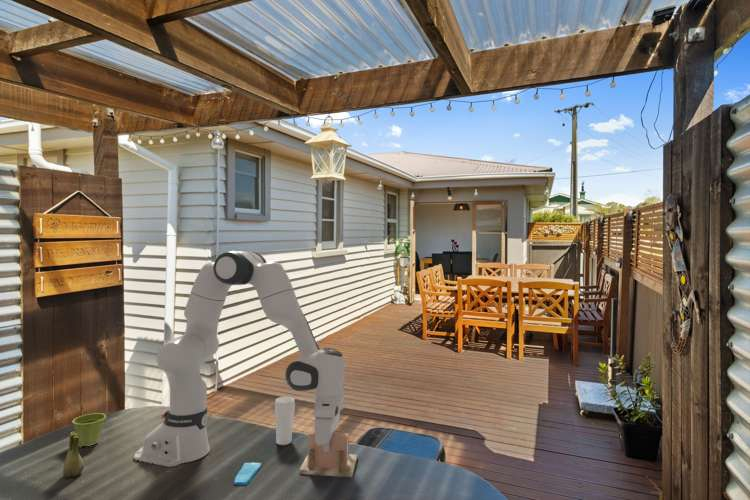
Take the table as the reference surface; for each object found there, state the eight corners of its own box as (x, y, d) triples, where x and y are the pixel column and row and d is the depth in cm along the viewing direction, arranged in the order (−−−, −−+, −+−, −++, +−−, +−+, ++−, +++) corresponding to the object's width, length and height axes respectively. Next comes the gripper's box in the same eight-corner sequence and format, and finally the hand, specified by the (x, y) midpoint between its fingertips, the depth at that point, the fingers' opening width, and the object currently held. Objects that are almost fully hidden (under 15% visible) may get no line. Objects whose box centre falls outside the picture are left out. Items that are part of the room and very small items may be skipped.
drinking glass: (289, 447, 141) (290, 403, 141) (270, 445, 142) (271, 401, 143) (296, 439, 148) (297, 397, 148) (279, 437, 149) (280, 395, 149)
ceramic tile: (307, 467, 126) (308, 434, 126) (309, 463, 128) (310, 430, 129) (346, 469, 125) (347, 436, 125) (347, 465, 127) (348, 433, 128)
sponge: (226, 482, 118) (246, 481, 117) (244, 462, 129) (262, 461, 129) (227, 487, 117) (246, 486, 117) (244, 467, 129) (262, 465, 129)
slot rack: (299, 473, 124) (300, 449, 124) (309, 455, 136) (309, 433, 136) (352, 477, 123) (352, 452, 123) (357, 458, 135) (357, 435, 135)
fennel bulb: (66, 471, 123) (68, 430, 123) (86, 468, 124) (88, 428, 125) (59, 481, 117) (61, 438, 117) (80, 478, 119) (82, 436, 119)
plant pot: (110, 442, 142) (111, 417, 142) (79, 452, 134) (80, 425, 134) (97, 435, 147) (98, 411, 147) (66, 445, 139) (67, 419, 139)
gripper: (326, 391, 138) (324, 432, 138) (311, 413, 118) (310, 462, 117) (344, 392, 137) (343, 434, 137) (333, 414, 117) (332, 464, 117)
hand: (328, 447), depth 127 cm, fingers open, 3 cm apart
